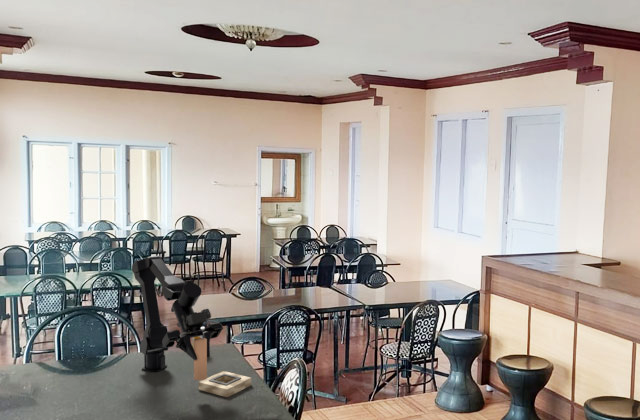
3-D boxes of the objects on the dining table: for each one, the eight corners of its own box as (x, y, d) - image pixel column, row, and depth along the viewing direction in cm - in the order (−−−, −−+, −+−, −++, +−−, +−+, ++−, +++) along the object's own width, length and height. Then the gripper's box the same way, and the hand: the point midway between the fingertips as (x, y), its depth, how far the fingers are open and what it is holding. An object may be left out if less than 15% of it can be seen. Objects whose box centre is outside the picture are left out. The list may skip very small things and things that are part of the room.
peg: (191, 379, 176) (191, 341, 176) (197, 375, 180) (197, 337, 179) (203, 380, 175) (203, 342, 174) (209, 376, 179) (208, 338, 178)
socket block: (198, 389, 185) (198, 381, 185) (223, 378, 195) (223, 370, 195) (227, 397, 179) (227, 388, 179) (251, 385, 189) (251, 376, 189)
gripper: (165, 305, 173) (182, 350, 166) (220, 297, 185) (238, 338, 177) (155, 325, 180) (171, 369, 172) (208, 316, 192) (225, 357, 184)
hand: (202, 358), depth 176 cm, fingers closed on peg, 4 cm apart
